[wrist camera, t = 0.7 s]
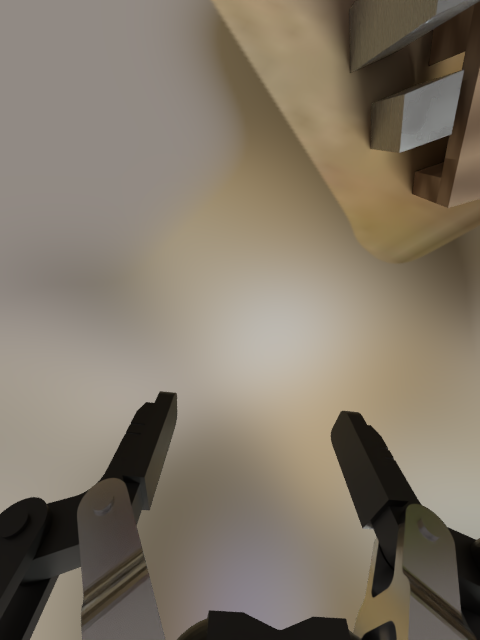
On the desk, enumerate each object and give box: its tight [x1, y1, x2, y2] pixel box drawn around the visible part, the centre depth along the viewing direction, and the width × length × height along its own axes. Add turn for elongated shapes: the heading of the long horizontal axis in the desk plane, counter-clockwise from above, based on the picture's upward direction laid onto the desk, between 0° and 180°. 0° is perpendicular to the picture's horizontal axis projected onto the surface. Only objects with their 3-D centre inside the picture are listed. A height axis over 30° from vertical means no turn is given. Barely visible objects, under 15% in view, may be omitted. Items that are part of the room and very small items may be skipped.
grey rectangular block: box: [371, 70, 464, 153], centre depth 21 cm, size 4×4×7 cm
